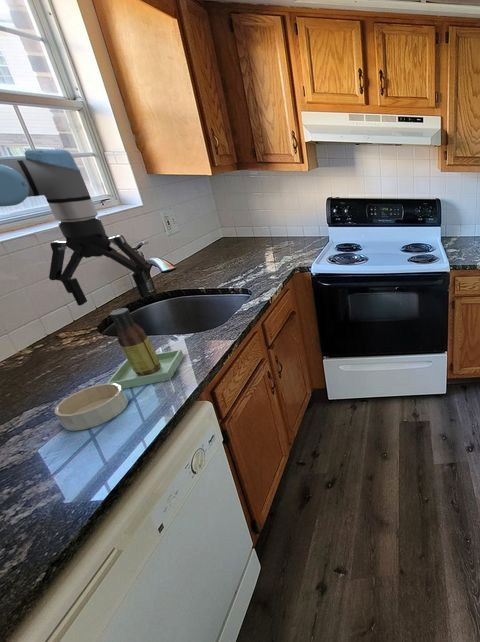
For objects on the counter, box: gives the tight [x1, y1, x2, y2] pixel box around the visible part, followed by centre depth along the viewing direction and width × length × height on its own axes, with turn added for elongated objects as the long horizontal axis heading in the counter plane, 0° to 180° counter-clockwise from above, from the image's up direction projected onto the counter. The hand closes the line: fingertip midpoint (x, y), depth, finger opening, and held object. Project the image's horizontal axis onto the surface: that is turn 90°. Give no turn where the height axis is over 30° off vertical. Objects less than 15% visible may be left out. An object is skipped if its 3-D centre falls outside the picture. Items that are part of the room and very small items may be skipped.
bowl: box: [54, 382, 129, 432], centre depth 90 cm, size 12×12×4 cm
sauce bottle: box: [109, 307, 161, 376], centre depth 102 cm, size 6×6×20 cm
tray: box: [106, 348, 185, 390], centre depth 106 cm, size 14×13×2 cm
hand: (114, 299), depth 96 cm, fingers open, 13 cm apart
